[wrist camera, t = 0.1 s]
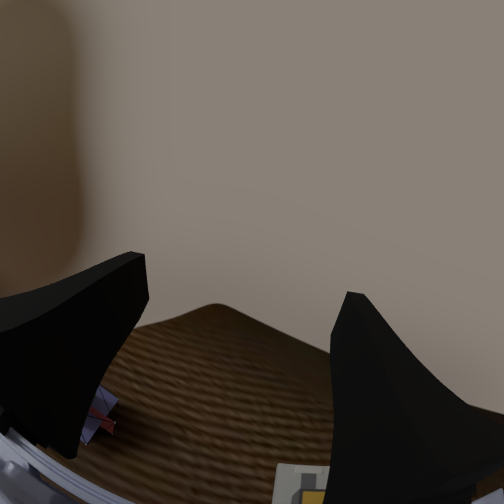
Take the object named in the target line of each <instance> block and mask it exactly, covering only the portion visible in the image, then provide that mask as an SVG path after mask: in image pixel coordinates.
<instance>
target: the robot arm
mask: <svg viewBox="0 0 504 504" xmlns="http://www.w3.org/2000/svg"><path fill="white" fill-rule="evenodd" d="M148 301H149V292H148V284H147V275H146V266H145V255H144V254H141V253H136V252H132V251H130V252H127V253H124V254H121V255H119V256H116V257H114V258H111V259H109V260H107V261H104V262H102V263H100V264H98V265H95V266H93V267H91V268H89V269H86V270H84V271H82V272H80V273H77V274H75V275H72V276H70V277H68V278H65V279H63V280H60V281H58V282H55V283H53V284H50V285H47V286H44V287H41V288H38V289H35V290H32V291H29V292H25V293H21V294H17V295H13V296H9V297H4V298H0V504H81V503H79V502H78V501H76V500H75V499H73V498H72V497H70V496H68V495H67V494H65V493H64V492H62V491H60V490H59V489H57V488H55V487H53V486H52V485H50V484H48V483H47V482H45V481H44V480H42V479H41V478H40V473H39V471H40V472H41V473H42V474H44V475H45V476H47V477H48V478H49V479H51V480H52V481H54V482H55V483H57V484H58V485H60V486H61V487H63V488H64V489H66V490H67V491H69V492H71V493H72V494H74V495H76V496H77V497H79V498H81V499H82V500H84V501H86V502H88V503H89V504H135V503H133V502H130V501H128V500H126V499H123V498H121V497H119V496H117V495H115V494H112V493H110V492H108V491H106V490H104V489H102V488H100V487H98V486H96V485H95V484H93V483H91V482H89V481H87V480H85V479H84V478H82V477H80V476H78V475H77V474H75V473H73V472H72V471H70V470H68V469H67V468H65V467H64V466H62V465H61V464H59V463H58V462H56V461H55V460H53V459H52V458H50V457H49V456H47V455H46V454H44V453H43V452H42V451H40V450H39V449H38V448H36V447H35V446H36V444H37V443H38V444H39V445H41V446H42V447H44V448H45V449H46V448H47V447H49V448H51V449H52V450H54V451H55V452H57V453H58V454H60V455H61V456H63V457H65V458H66V459H74V458H76V456H77V450H78V446H79V442H80V438H81V434H82V430H83V427H84V424H85V421H86V418H87V415H88V412H89V409H90V406H91V404H92V401H93V399H94V396H95V394H96V391H97V389H98V387H99V385H100V383H101V380H102V378H103V376H104V374H105V372H106V370H107V368H108V367H109V365H110V363H111V362H112V360H113V358H114V357H115V355H116V354H117V352H118V351H119V349H120V348H121V346H122V345H123V343H124V342H125V340H126V339H127V337H128V336H129V334H130V333H131V331H132V330H133V328H134V327H135V325H136V324H137V322H138V321H139V319H140V317H141V315H142V313H143V311H144V309H145V307H146V305H147V303H148ZM330 343H331V344H330V368H331V380H332V393H333V407H334V430H333V443H332V452H331V460H330V468H329V474H328V480H327V485H326V490H325V495H324V499H323V503H322V504H504V494H503V489H501V488H500V489H498V490H496V491H494V492H492V493H490V494H488V495H486V496H484V497H482V498H480V499H478V500H476V501H474V502H471V496H472V495H474V494H476V492H477V489H476V483H478V482H480V481H481V480H483V479H485V478H486V477H488V476H490V475H491V474H493V473H494V472H496V471H497V470H499V469H500V468H502V467H503V466H504V427H503V426H501V425H500V424H498V423H496V422H494V421H493V420H491V419H489V418H487V417H486V416H484V415H482V414H481V413H480V412H478V411H477V410H475V409H474V408H472V407H471V406H469V405H468V404H467V403H465V402H464V401H463V400H461V399H460V398H459V397H458V396H456V395H455V394H454V393H453V392H452V391H450V390H449V389H448V388H447V387H446V386H445V385H443V384H442V383H441V382H440V381H439V380H438V379H437V378H436V377H435V376H434V375H433V374H432V373H431V372H430V371H429V370H428V369H427V368H426V367H425V366H424V365H423V364H422V363H421V362H420V361H419V360H418V359H417V358H416V357H415V356H414V355H413V354H412V352H411V351H410V350H409V349H408V348H407V347H406V345H405V344H404V343H403V342H402V341H401V340H400V338H399V337H398V336H397V335H396V334H395V332H394V331H393V330H392V328H391V327H390V326H389V325H388V323H387V322H386V321H385V319H384V318H383V317H382V316H381V314H380V313H379V312H378V311H377V309H376V308H375V307H374V305H373V304H372V303H371V302H370V300H369V299H368V298H367V297H366V296H365V295H364V294H360V293H355V292H347V294H346V297H345V299H344V302H343V304H342V307H341V310H340V312H339V315H338V318H337V320H336V323H335V325H334V328H333V331H332V333H331V341H330Z"/></svg>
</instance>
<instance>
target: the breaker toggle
mask: <svg viewBox="0 0 504 504" xmlns="http://www.w3.org/2000/svg"><path fill="white" fill-rule="evenodd" d="M325 490H326V489H299V490H298V491H297V492H296V493H295V494H294V495H293V496H292V499H291V504H322V503H323V499H324V495H325Z"/></svg>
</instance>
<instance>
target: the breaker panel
mask: <svg viewBox="0 0 504 504" xmlns="http://www.w3.org/2000/svg"><path fill="white" fill-rule="evenodd" d="M329 468H330V466H305V465H291V464H280V463H278V465H277V469H276V477H275V484H274V492H273V499H272V504H291V499H292V496H293V495H294V494H295V493H296V492H297V491H298V490H299V489H326V485H327V480H328V474H329Z"/></svg>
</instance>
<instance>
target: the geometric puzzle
mask: <svg viewBox="0 0 504 504" xmlns="http://www.w3.org/2000/svg"><path fill="white" fill-rule="evenodd" d="M101 386H102V385H101ZM101 386H100V385H99V387H98V389H97V391H96V394H95V396H94V399H93V401H92V404H91V406H90V409H89V412H88V415H87V418H86V421H85V424H84V427H83V430H82V434H81V438H80V440H81V441H82V442H83V443H85V445H87V444H89V442H91V441H92V440H93V439H95V438H96V437H97V436H99V435H100V434H106V433H102V432H101V433H95V431H96V430H97V429H98V427H99V426H101V427H103V428H104V429H105V430H107V431H108V432H110V433H111V435H113V430H114V425H115V423H116V422H115V420H114V419H113V417H112V419H113V421H114V422H113V421H112V420H110V419H109V418H107V417H106V416H107V415H108V413H109V412H110V410H111V409H112V408H113V406H114V405H115V404H116V402H117V401H118V400H119V398H116V397H115V396H114V395H113V394H111V393H109V391H108V390H107V391H106V390H105V389H104V387H103V386H102V387H103V388H102V387H101ZM117 406H118V403H117ZM116 412H117V409H116ZM110 414H111V413H110ZM111 416H112V415H111ZM115 419H116V414H115ZM105 430H104V431H105ZM104 431H103V432H104ZM94 433H95V434H99V435H97V436H96V437H95V438H93V439H92V440H91V441H89V440H90V439H91V437H92V436H93V434H94ZM109 436H110V435H109ZM106 437H107V436H106ZM104 438H105V437H104ZM101 439H102V438H101ZM99 440H100V439H99ZM88 441H89V442H88ZM96 441H97V440H96ZM94 442H95V441H94ZM91 443H92V442H91Z"/></svg>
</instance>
